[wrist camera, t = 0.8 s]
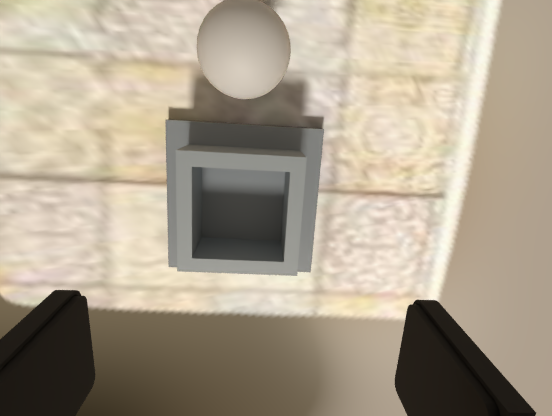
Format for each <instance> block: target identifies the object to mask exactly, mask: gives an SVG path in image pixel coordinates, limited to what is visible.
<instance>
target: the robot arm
mask: <svg viewBox="0 0 552 416" xmlns="http://www.w3.org/2000/svg"><path fill="white" fill-rule="evenodd" d="M94 380H95V367H94V359H93V350H92V341H91V333H90V323H89V315H88V305H87V299H86V297H85V296H81V294H80V292H79V291H76V290H55V291H54V292H52V293H51V294H50V295H49V296H48V297H47V298H46V299H44V300H43V301H42V302H41V303H40V304H39V305H38V306H37V307H36V308H35V309H33V310H32V311H31V312H30V313H29V314H28V315H27V316H26V317H25V318H23V320H21V321H20V322H19V323H18V324H17V325H16V326H15V327H14V328H13V329H11V330H10V331H9V332H8V333H7V334H6V335H5V336H4V337H2V338H1V339H0V416H76V414H77V412H78V411H79V409H80V407H81V405H82V404H83V402H84V401H85V399H86V397H87V395H88V394H89V392H90V390H91V389H92V387H93V384H94ZM395 388H396V391H397V394H398V396H399V398H400V400H401V402H402V404H403V407H404V409H405V411H406V413H407V415H408V416H535V415H536V412H535V411H534V410H533V409H532V408H531V406H530V405H529V404H528V403H527V402H526V401H525V400H524V399H523V397H522V396H521V395H520V394H519V393H518V392H517V391H516V389H515V388H514V387H513V386H512V385H511V384H510V383H509V382H508V381H507V379H506V378H505V377H504V376H503V375H502V374H501V373H500V371H499V370H498V369H497V368H496V367H495V366H494V365H493V363H492V362H491V361H490V360H489V359H488V358H487V357H486V356H485V354H484V353H483V352H482V351H481V350H480V349H479V348H478V347H477V345H476V344H475V343H474V342H473V341H472V340H471V338H470V337H469V336H468V335H467V334H466V333H465V332H464V331H463V329H462V328H461V327H460V326H459V325H458V324H457V323H456V321H455V320H454V319H453V318H452V317H451V316H450V315H449V314H448V313H447V312H446V310H445V309H444V308H443V307H442V306H441V305H440V303H439V302H437V301H435V300H416V301H415V302H414V304H413V305H409V306H408V309H407V314H406V320H405V326H404V332H403V337H402V342H401V348H400V354H399V359H398V364H397V370H396V375H395Z"/></svg>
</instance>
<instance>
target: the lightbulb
mask: <svg viewBox="0 0 552 416" xmlns="http://www.w3.org/2000/svg"><path fill="white" fill-rule="evenodd" d="M290 53H291V50H290V40H289V35H288V32H287V29H286V27H285V25H284V23H283V21H282V20H281V18H280V17H279V15H278V14H277V13H276V12H275V11H274V10H273V9H272V8H271V7H269V6H268V5H266V4H265V3H263V2H262V1H259V0H224V1H223V2H221V3H219V4H217V5H216V6H215V7H214V8H213V9H211V10H210V11H209V13H208V14H207V15H206V17H205V18H204V20H203V22H202V24H201V26H200V29H199V33H198V37H197V55H198V60H199V64H200V67H201V69H202V71H203V73H204V75H205V77H206V78H207V79H208V81H209V82H210V83H211V84H212V85H213V86H214V87H215V88H216V89H217V90H219V91H221V92H222V93H224V94H226V95H228V96H231V97H234V98H238V99H253V98H257V97H261V96H263V95H265V94H267V93H268V92H270V91H271V90H272V89H273V88H275V87H276V86H277V84H278V83H279V82H280V81H281V80H282V78H283V76H284V74H285V72H286V70H287V67H288V64H289V60H290Z"/></svg>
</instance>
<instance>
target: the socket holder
mask: <svg viewBox="0 0 552 416" xmlns="http://www.w3.org/2000/svg"><path fill="white" fill-rule="evenodd" d="M323 134H324V129H317V128H301V127H284V126H268V125H251V124H235V123H218V122H202V121H185V120H169V119H168V120H166V163H167V210H168V258H169V267H177V271H184V272H211V273H238V274H264V275H291V276H297V272H311V262H312V251H313V241H314V230H315V219H316V209H317V198H318V187H319V177H320V166H321V155H322V145H323Z"/></svg>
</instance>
